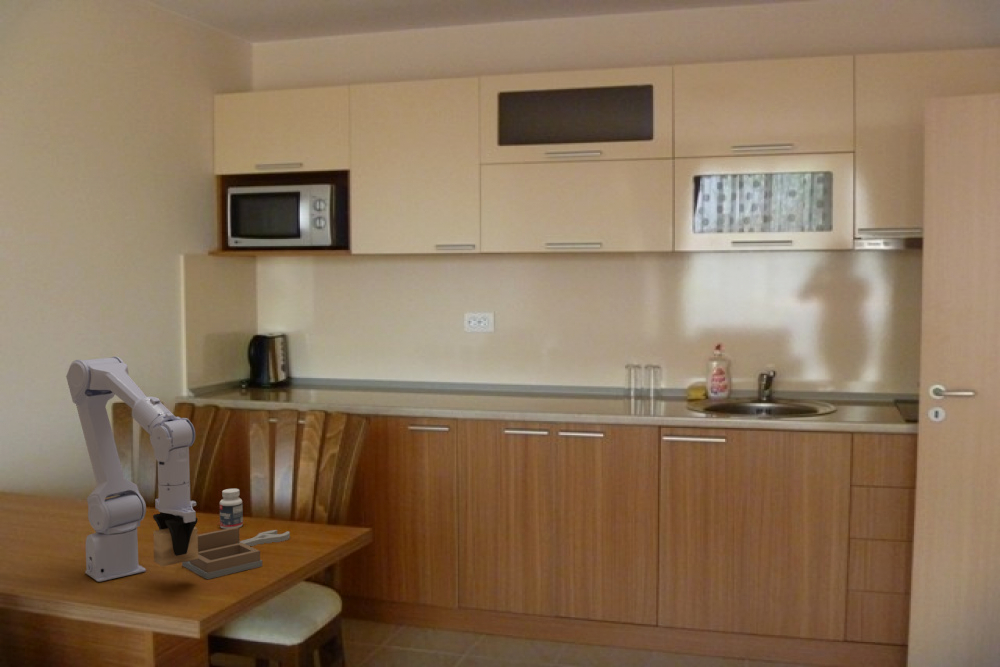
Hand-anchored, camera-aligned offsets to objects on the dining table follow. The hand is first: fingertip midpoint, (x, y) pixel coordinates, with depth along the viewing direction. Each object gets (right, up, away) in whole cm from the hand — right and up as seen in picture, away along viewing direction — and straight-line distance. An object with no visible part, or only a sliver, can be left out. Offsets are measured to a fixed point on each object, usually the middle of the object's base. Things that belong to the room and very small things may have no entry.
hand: (176, 551), depth 171 cm
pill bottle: (-2, -5, +43) cm, 43 cm away
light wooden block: (0, -2, 0) cm, 2 cm away
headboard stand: (+5, -6, +13) cm, 15 cm away
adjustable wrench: (+4, -6, +26) cm, 27 cm away
